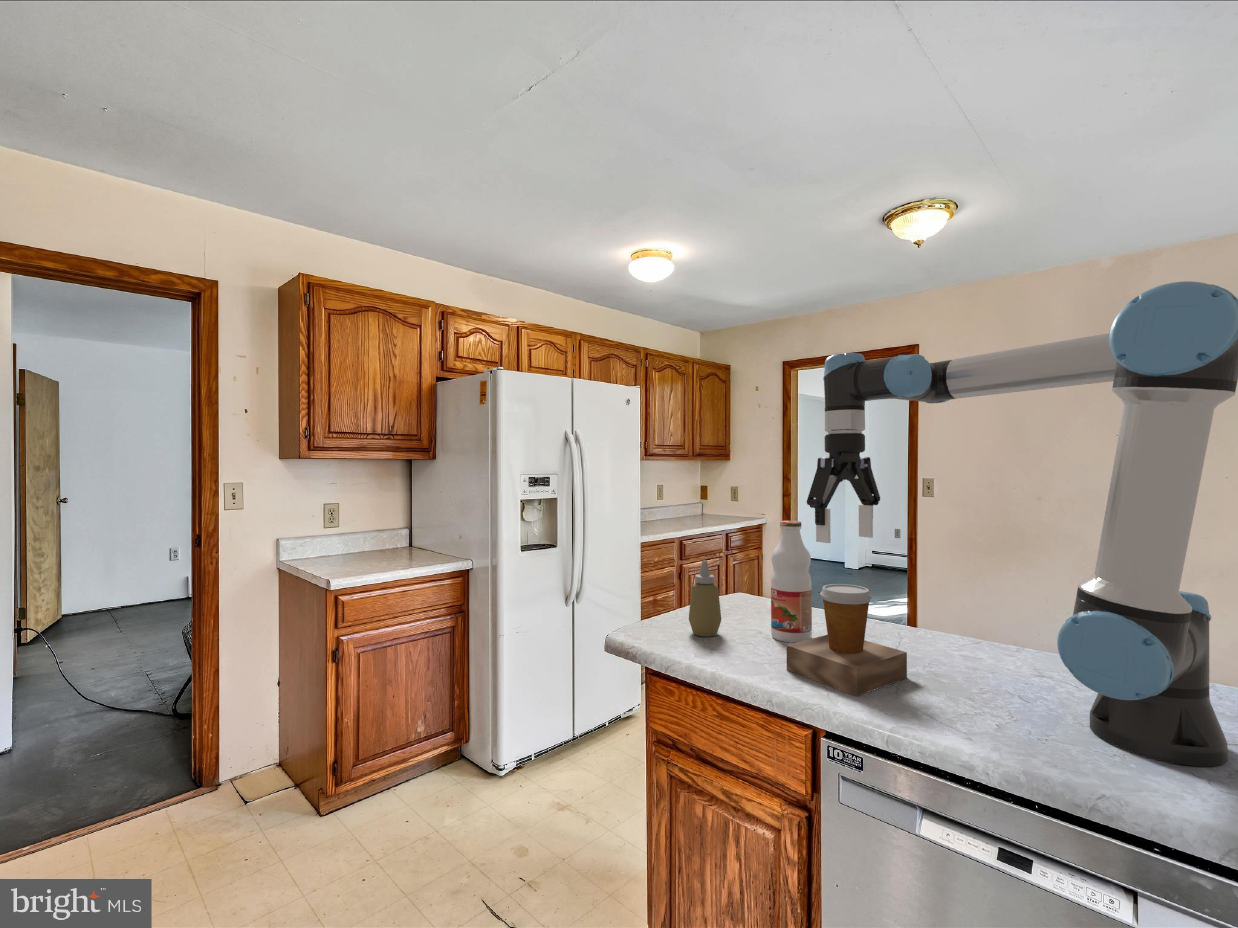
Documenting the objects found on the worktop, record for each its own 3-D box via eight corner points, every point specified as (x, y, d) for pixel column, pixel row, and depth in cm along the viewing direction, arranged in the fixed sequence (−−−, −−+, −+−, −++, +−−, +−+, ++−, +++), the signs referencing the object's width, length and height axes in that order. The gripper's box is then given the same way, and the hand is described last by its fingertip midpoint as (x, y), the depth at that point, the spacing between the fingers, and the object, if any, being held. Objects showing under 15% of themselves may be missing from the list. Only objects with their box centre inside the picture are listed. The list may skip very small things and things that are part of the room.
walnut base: (906, 677, 113) (906, 652, 113) (856, 696, 104) (856, 668, 104) (836, 655, 126) (836, 632, 126) (786, 669, 117) (786, 645, 117)
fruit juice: (819, 642, 135) (818, 522, 135) (781, 644, 133) (780, 523, 133) (800, 631, 144) (799, 519, 144) (764, 632, 143) (764, 519, 143)
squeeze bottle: (724, 638, 138) (723, 563, 138) (690, 638, 138) (690, 563, 138) (718, 629, 146) (718, 558, 146) (686, 629, 146) (686, 558, 146)
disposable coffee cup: (877, 657, 109) (876, 594, 109) (824, 654, 111) (823, 592, 111) (866, 642, 119) (865, 584, 119) (817, 640, 121) (817, 582, 121)
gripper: (865, 435, 125) (865, 533, 125) (787, 432, 111) (787, 542, 111) (898, 433, 119) (898, 536, 119) (819, 430, 105) (820, 547, 105)
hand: (845, 539), depth 115 cm, fingers open, 13 cm apart
